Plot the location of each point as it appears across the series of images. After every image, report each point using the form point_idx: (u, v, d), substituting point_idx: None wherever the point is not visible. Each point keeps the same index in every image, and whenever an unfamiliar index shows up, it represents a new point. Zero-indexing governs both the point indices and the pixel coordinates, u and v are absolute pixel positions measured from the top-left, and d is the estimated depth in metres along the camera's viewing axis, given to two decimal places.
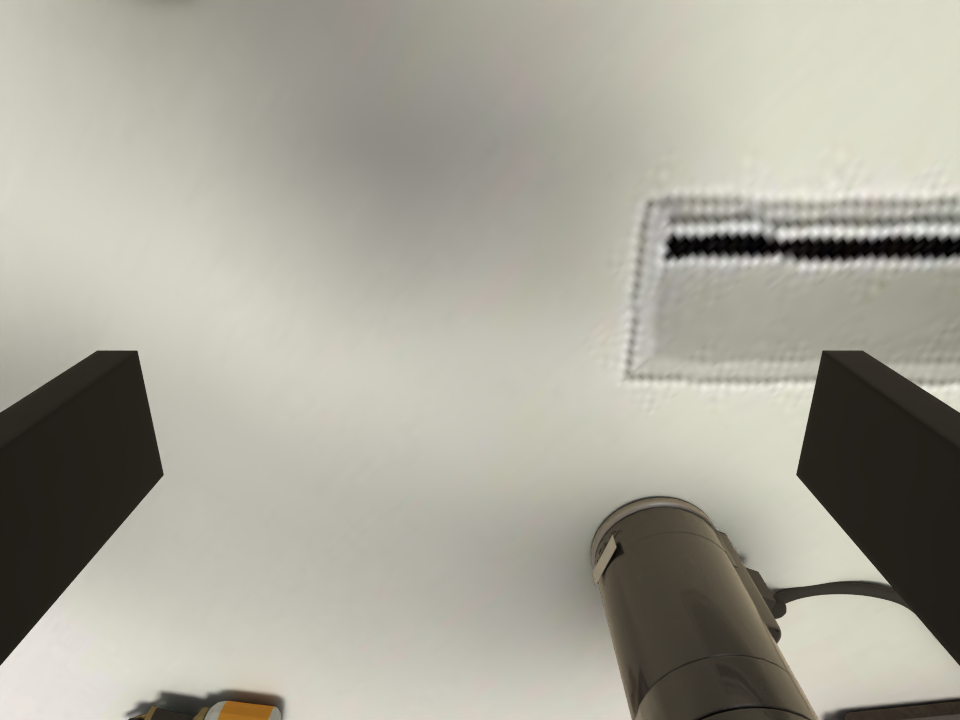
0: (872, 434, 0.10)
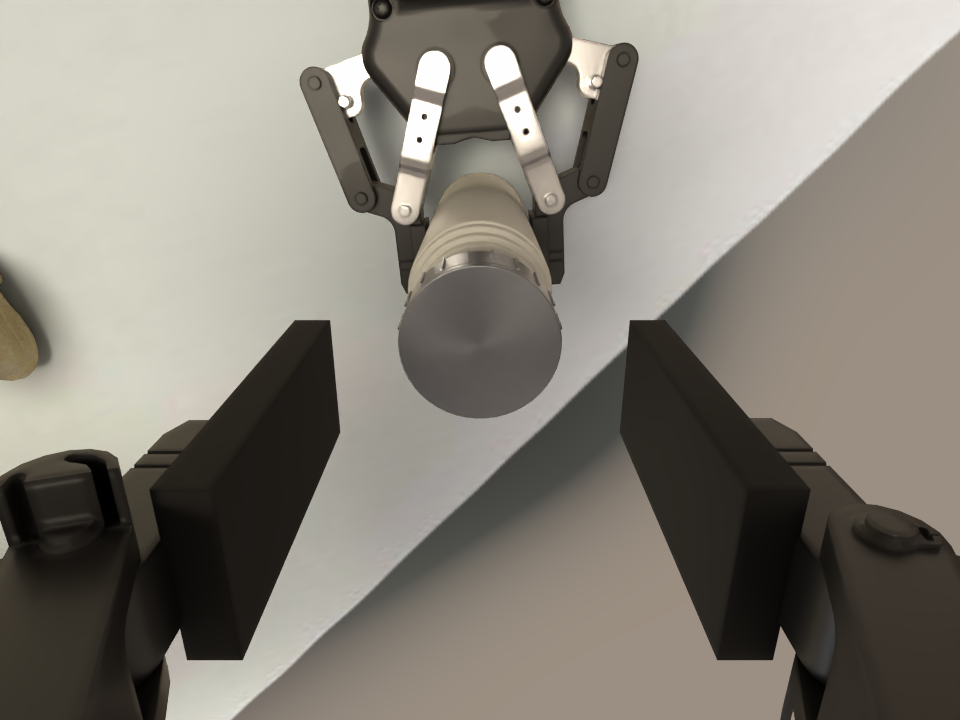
0: (648, 388, 0.12)
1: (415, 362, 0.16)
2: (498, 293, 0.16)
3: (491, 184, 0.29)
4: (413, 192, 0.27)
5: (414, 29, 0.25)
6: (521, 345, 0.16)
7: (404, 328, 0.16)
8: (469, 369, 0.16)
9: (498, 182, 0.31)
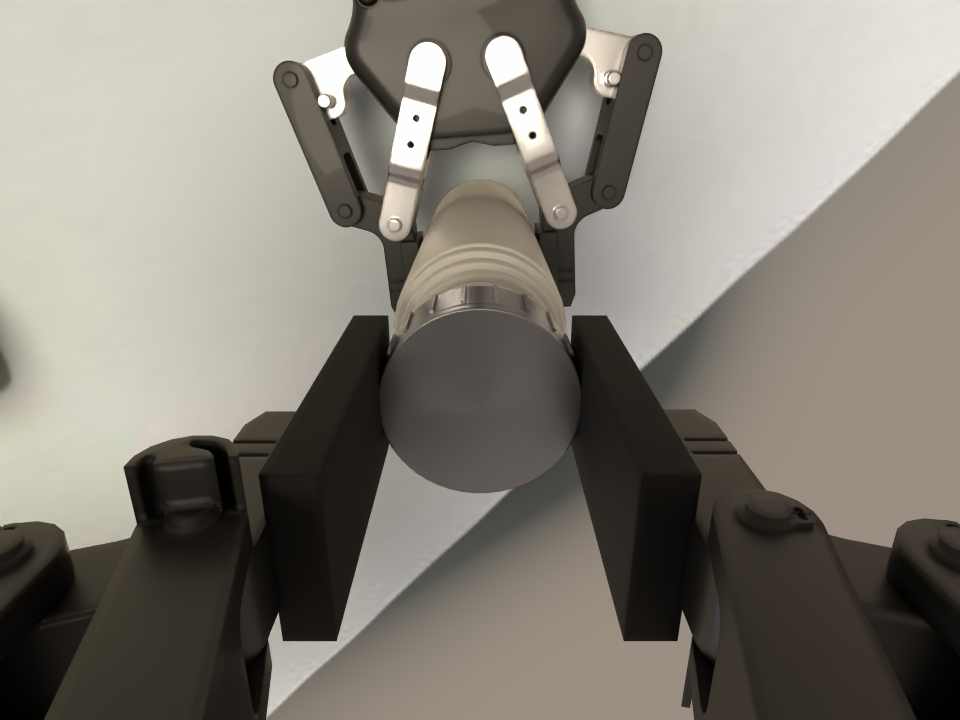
0: (583, 381, 0.12)
1: (399, 426, 0.13)
2: (503, 342, 0.12)
3: (492, 194, 0.26)
4: (404, 204, 0.24)
5: (404, 17, 0.22)
6: (533, 406, 0.13)
7: (385, 385, 0.13)
8: (467, 434, 0.13)
9: (500, 191, 0.28)
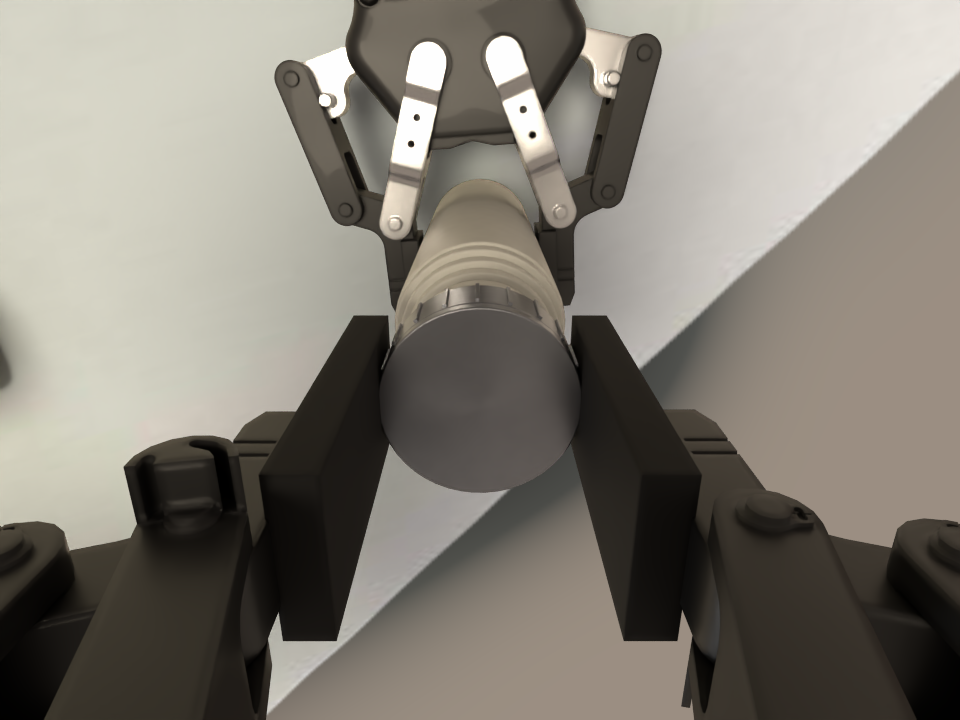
0: (583, 381, 0.12)
1: (537, 458, 0.13)
2: (410, 416, 0.13)
3: (492, 193, 0.26)
4: (404, 202, 0.24)
5: (405, 17, 0.22)
6: (453, 362, 0.13)
7: (503, 485, 0.14)
8: (515, 402, 0.13)
9: (500, 190, 0.28)
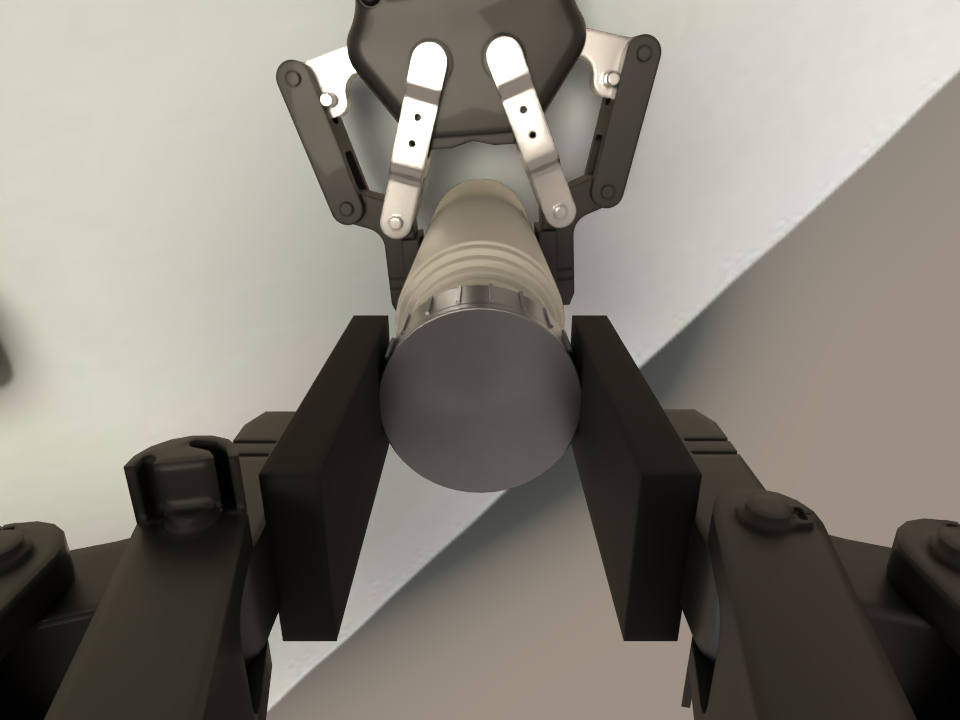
0: (583, 381, 0.12)
1: (507, 328, 0.12)
2: (522, 454, 0.13)
3: (493, 193, 0.26)
4: (405, 202, 0.24)
5: (406, 17, 0.22)
6: (452, 444, 0.13)
7: (553, 343, 0.12)
8: (460, 379, 0.13)
9: (500, 190, 0.28)
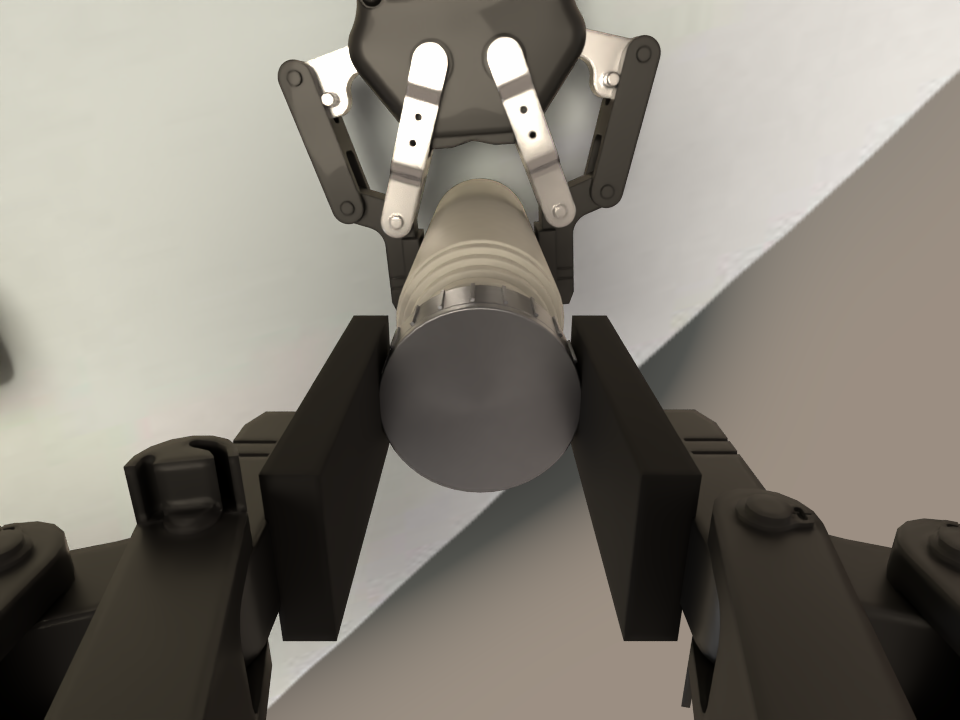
0: (583, 381, 0.12)
1: (397, 419, 0.13)
2: (509, 344, 0.12)
3: (493, 192, 0.26)
4: (405, 201, 0.24)
5: (407, 18, 0.22)
6: (533, 409, 0.13)
7: (387, 377, 0.13)
8: (464, 433, 0.13)
9: (500, 190, 0.28)
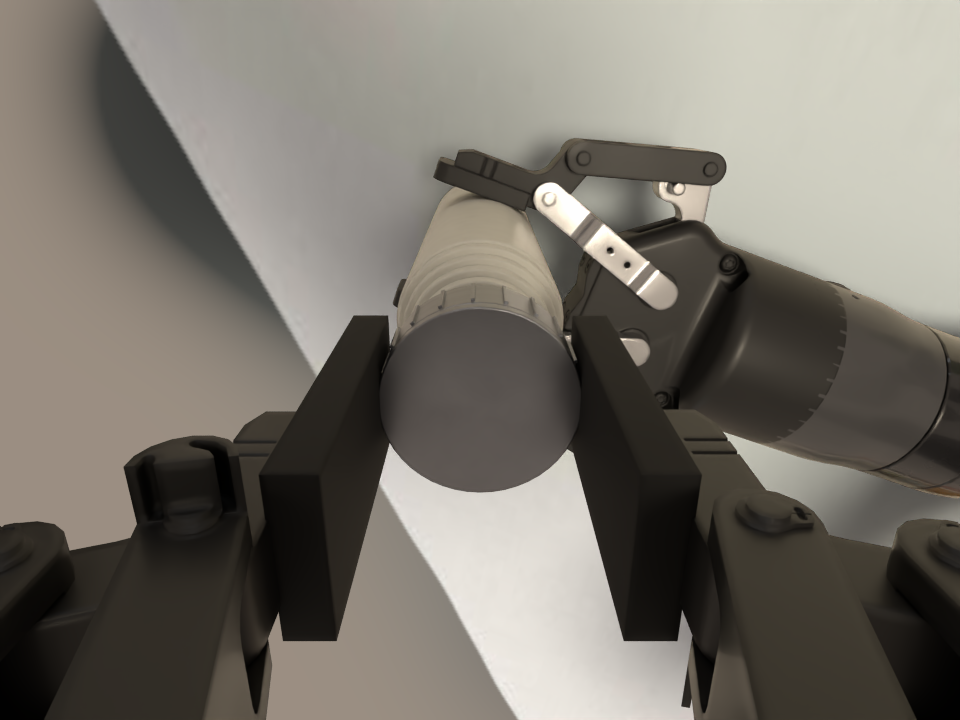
0: (583, 381, 0.12)
1: (397, 419, 0.13)
2: (509, 344, 0.12)
3: None
4: (563, 216, 0.24)
5: (697, 285, 0.26)
6: (533, 409, 0.13)
7: (387, 377, 0.13)
8: (464, 433, 0.13)
9: None
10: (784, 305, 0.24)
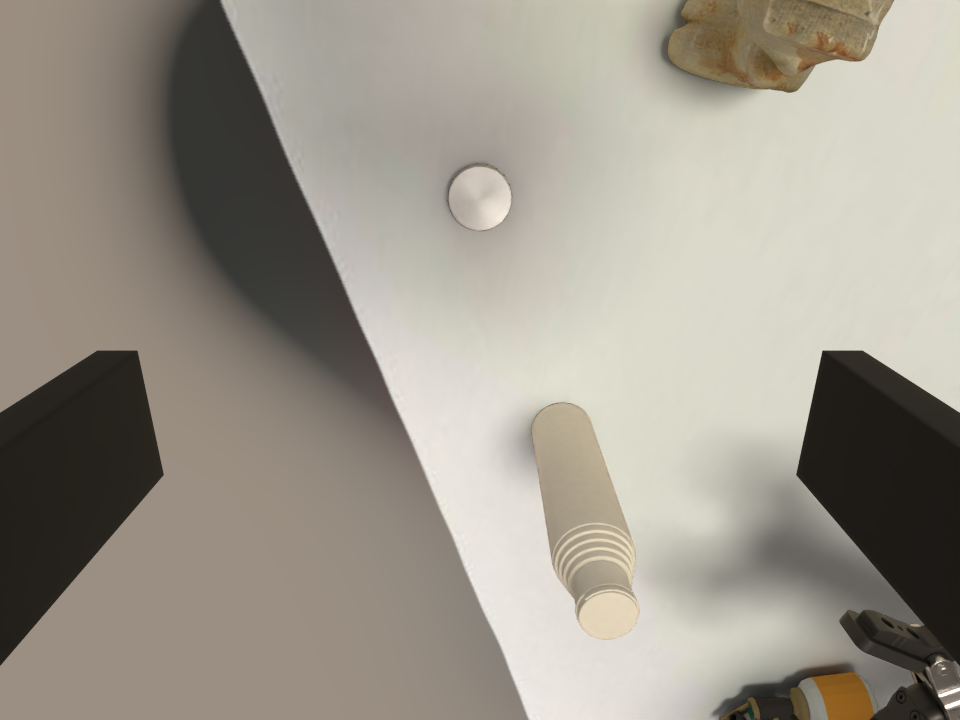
0: (872, 434, 0.10)
1: (454, 204, 0.42)
2: (488, 178, 0.41)
3: None
4: (942, 682, 0.32)
5: None
6: (496, 200, 0.42)
7: (451, 189, 0.41)
8: (475, 209, 0.42)
9: None
10: None
